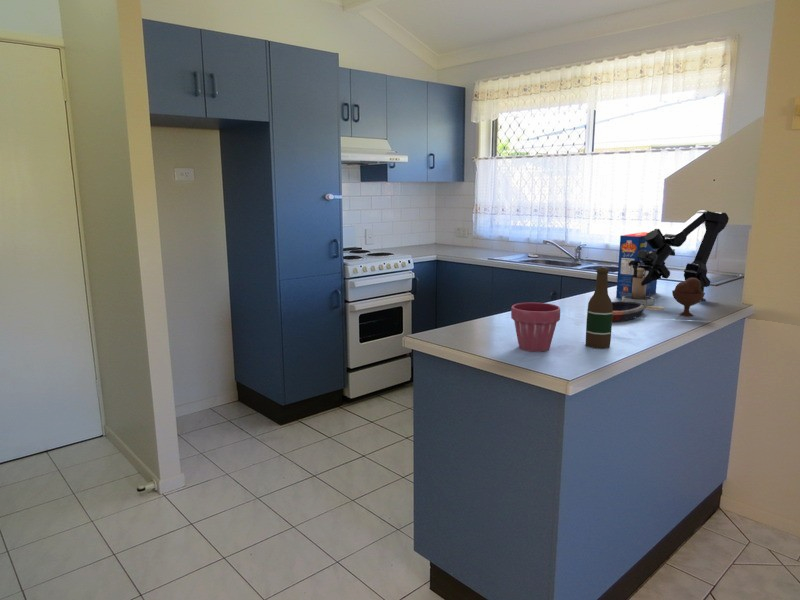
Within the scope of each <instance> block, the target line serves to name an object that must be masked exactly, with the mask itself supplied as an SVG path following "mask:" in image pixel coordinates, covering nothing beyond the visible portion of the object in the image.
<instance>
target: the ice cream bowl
mask: <svg viewBox="0 0 800 600" xmlns="http://www.w3.org/2000/svg"><path fill="white" fill-rule="evenodd" d="M671 291H672V293H671V294H672V296H673V299H674V300H675V301H676V302H677V303H678V304H679V305H682V306H683V308H684V309H683V311H682V312H680V313H679V314H678V316H681V317H689V318H691V317H694V316H695V315H694V314H692V313H691V312H690V308H691V307H692V306H694V305H697V304H698V303H700V302H702V301H703V300H702V299H703V298H705V294H706V293H705V291H704V292H702V290H701V282H700V281H699V280H698V279H697V278H688V279H687V280H686V281H685V280H684V281H680V282H679V283H677V284H676V285H675V288H674V289H673V290H671Z"/></svg>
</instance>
